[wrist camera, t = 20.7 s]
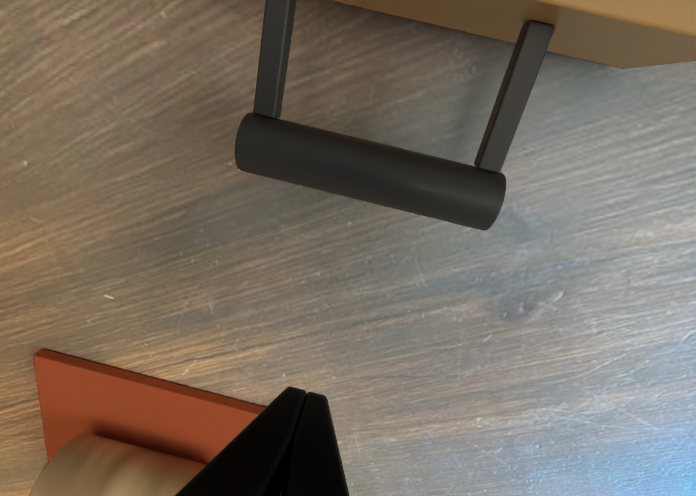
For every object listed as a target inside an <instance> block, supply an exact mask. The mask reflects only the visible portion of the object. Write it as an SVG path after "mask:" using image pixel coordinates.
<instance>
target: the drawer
mask: <svg viewBox="0 0 696 496" xmlns="http://www.w3.org/2000/svg"><path fill="white" fill-rule="evenodd" d="M332 1H336V2H341V3H345V4H349V5H353V6H358V7H362V8H366V9H370V10H375V11H379V12H383V13H388V14H392V15H396V16H400V17H405V18H409V19H413V20H417V21H422V22H426V23H430V24H435V25H439V26H443V27H447V28H452V29H456V30H460V31H464V32H469V33H473V34H477V35H482V36H486V37H490V38H494V39H499V40H503V41H507V42H511V43H516V45H515V48H514V50H513V53H512V56H511V59H510V62H509V65H508V67H507V70H506V73H505V76H504V79H503V82H502V85H501V87H500V90H499V93H498V96H497V99H496V102H495V105H494V107H493V110H492V113H491V116H490V119H489V122H488V125H487V127H486V130H485V133H484V136H483V139H482V142H481V144H480V147H479V150H478V153H477V156H476V159H475V162H474V165H475V166H476V167H475V166H471V165H467V164H463V163H459V162H455V161H450V160H446V159H442V158H438V157H434V156H430V155H426V154H422V153H417V152H413V151H409V150H405V149H401V148H397V147H393V146H389V145H385V144H380V143H376V142H372V141H368V140H364V139H360V138H356V137H352V136H347V135H343V134H339V133H335V132H331V131H327V130H323V129H319V128H315V127H310V126H306V125H302V124H298V123H294V122H290V121H286V120H282V119H277V118H278V117H280V115H281V108H282V100H283V93H284V86H285V79H286V72H287V65H288V57H289V50H290V43H291V36H292V29H293V22H294V14H295V7H296V0H266V3H265V12H264V21H263V30H262V39H261V48H260V57H259V66H258V75H257V84H256V93H255V101H254V110H253V111H254V113H253V112H250V113H248V114H246V115H245V116H244V118H243V119H242V121H241V124H240V126H239V129H238V133H237V137H236V143H235V160H236V165H237V167H238V168H239V169H240V170H241V171H244V172H248V173H253V174H257V175H261V176H265V177H269V178H273V179H277V180H281V181H285V182H289V183H293V184H297V185H301V186H305V187H309V188H313V189H317V190H321V191H325V192H329V193H333V194H338V195H342V196H346V197H350V198H354V199H358V200H362V201H366V202H370V203H374V204H378V205H382V206H386V207H390V208H394V209H398V210H402V211H406V212H410V213H414V214H418V215H423V216H427V217H431V218H435V219H439V220H443V221H447V222H451V223H455V224H459V225H463V226H467V227H471V228H475V229H479V230H487V229H489V228H490V227H491V226H492V225H493V223H494V222H495V220H496V218H497V216H498V214H499V212H500V210H501V207H502V204H503V201H504V197H505V191H506V178H505V175H504V174H502V173H500V171H501V168H502V166H503V163H504V160H505V158H506V155H507V153H508V150H509V147H510V145H511V142H512V139H513V137H514V134H515V132H516V129H517V126H518V124H519V121H520V119H521V116H522V113H523V111H524V108H525V105H526V103H527V100H528V98H529V95H530V92H531V90H532V87H533V84H534V82H535V79H536V77H537V74H538V71H539V69H540V66H541V64H542V61H543V58H544V56H545V53H546V51H550V52H554V53H558V54H563V55H567V56H571V57H576V58H580V59H584V60H588V61H593V62H597V63H601V64H605V65H610V66H614V67H618V68H623V69H625V68H634V67H643V66H652V65H662V64H671V63H680V62H689V61H696V0H332Z"/></svg>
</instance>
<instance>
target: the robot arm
mask: <svg viewBox="0 0 696 496" xmlns="http://www.w3.org/2000/svg"><path fill="white" fill-rule="evenodd" d="M280 494H281V495H280ZM175 496H349V492H348V488H347V483H346V479H345V475H344V470H343V466H342V461H341V457H340V453H339V448H338V444H337V440H336V435H335V431H334V426H333V422H332V418H331V413H330V409H329V405H328V400H327V398H326V396H324V395H321V394H317V393H313V392H308V393H307V395H306V391H305V390H302V389H298V388H294V387H287V388H286V389H285V390H284V391H283V392H282V393H281V394H280V395H279V396H278V397H277V398H276V399H274V400H273V401H272V402H271V403H270V404H269V405H268V406H267V407H266V408H265V409H264V410H263V411H262V412H261V413H260V414H259V415H258V416H257V417H256V418H255V419H254V420H253V421H252V422H251V423H249V424H248V425H247V426H246V427H245V428H244V429H243V430H242V431H241V432H240V433H239V434H238V435H237V436H236V437H235V438H234V439H233V440H232V441H231V442H230V443H229V444H228V445H227V446H226V447H224V448H223V449H222V450H221V451H220V452H219V453H218V454H217V455H216V456H215V457H214V458H213V459H212V460H211V461H210V462H209V463H208V464H207V465H206V466H205V467H204V468H203V469H202V470H201V471H199V472H198V473H197V474H196V475H195V476H194V477H193V478H192V479H191V480H190V481H189V482H188V483H187V484H186V485H185V486H184V487H183V488H182V489H181V490H180V491H179V492H178V493H177V494H176V495H175Z"/></svg>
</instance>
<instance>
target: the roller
mask: <svg viewBox="0 0 696 496" xmlns="http://www.w3.org/2000/svg"><path fill="white" fill-rule="evenodd" d="M205 466H206V464H203V463H199V462H195V461H191V460H188V459H184V458H180V457H177V456H173V455H169V454H165V453H162V452H158V451H154V450H151V449H147V448H143V447H139V446H136V445H132V444H128V443H125V442H121V441H117V440H113V439H110V438H106V437H102V436H99V435H95V434H91V433H82V434H79V435H77V436H75V437H73V438H72V439H70V440H69V441H68V442H67V443H65V444H64V445H63V446H62V447H61V448H60V449H59V450H58V451H57V453H56V454H55V455H54V456H53V457H52V458H51V460H50V461H49V462H48V464H47V465H46V466H45V468H44V469H43V471H42V472H41V474H40V476H39V477H38V479H37V481H36V483H35V484H34V486H33V488H32V491H31V493H30V495H29V496H175V495H176V494H177V493H178V492H179V491H180V490H181V489H182V488H183V487H184V486H185V485H186V484H187V483H188V482H189V481H190V480H191V479H192V478H193V477H194V476H195V475H196V474H197V473H198V472H199V471H201V470H202V469H203V468H204V467H205Z"/></svg>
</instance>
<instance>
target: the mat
mask: <svg viewBox="0 0 696 496" xmlns="http://www.w3.org/2000/svg"><path fill="white" fill-rule="evenodd" d="M33 359H34V366H35V373H36V379H37V386H38V393H39V400H40V407H41V414H42V421H43V428H44V435H45V442H46V449H47V456H48V462H49V461H50V460H51V458H52V457H53V456H54V455H55V454H56V453H57V451H58V450H59V449H60V448H61V447H62V446H63V445H64V444H65V443H67V442H68V441H69V440H70V439H72V438H73V437H75V436H77V435H79V434H82V433H91V434H95V435H99V436H102V437H106V438H110V439H113V440H117V441H121V442H125V443H128V444H132V445H136V446H139V447H143V448H147V449H151V450H154V451H158V452H162V453H165V454H169V455H173V456H177V457H180V458H184V459H188V460H191V461H195V462H199V463H203V464H206V465H207V464H208V463H209V462H210V461H211V460H212V459H213V458H214V457H215V456H216V455H217V454H218V453H219V452H220V451H221V450H222V449H223V448H224V447H226V446H227V445H228V444H229V443H230V442H231V441H232V440H233V439H234V438H235V437H236V436H237V435H238V434H239V433H240V432H241V431H242V430H243V429H244V428H245V427H246V426H247V425H248V424H249V423H251V422H252V421H253V420H254V419H255V418H256V417H257V416H258V415H259V414H260V413H261V412H262V411H263V410H264V409H265V408H266V407H262V406H258V405H254V404H250V403H247V402H243V401H239V400H235V399H231V398H228V397H224V396H220V395H216V394H212V393H209V392H205V391H201V390H197V389H193V388H190V387H186V386H182V385H178V384H174V383H171V382H167V381H163V380H159V379H155V378H152V377H148V376H144V375H140V374H136V373H133V372H129V371H125V370H121V369H117V368H114V367H110V366H106V365H102V364H98V363H94V362H91V361H87V360H83V359H79V358H75V357H72V356H68V355H64V354H60V353H56V352H53V351H49V350H45V349H42V350H40V351H39V352H37V353H36V354H35V355H34V356H33Z"/></svg>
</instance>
